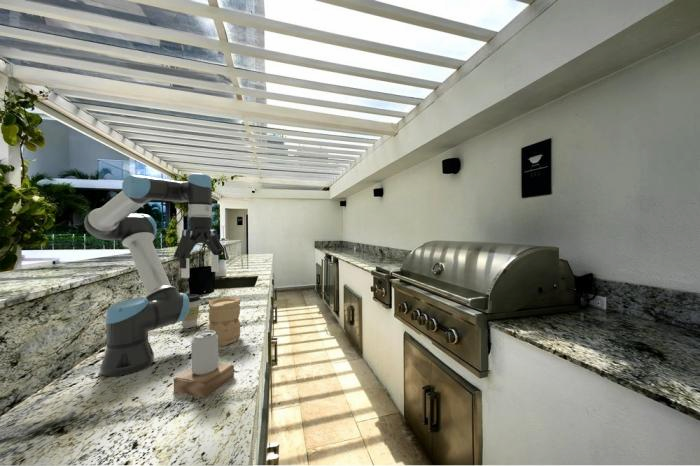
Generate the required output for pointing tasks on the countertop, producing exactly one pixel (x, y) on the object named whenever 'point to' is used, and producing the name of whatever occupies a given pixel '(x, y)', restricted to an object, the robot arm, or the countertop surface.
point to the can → (204, 352)
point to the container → (225, 319)
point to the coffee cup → (192, 312)
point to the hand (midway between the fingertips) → (201, 274)
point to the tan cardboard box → (203, 381)
